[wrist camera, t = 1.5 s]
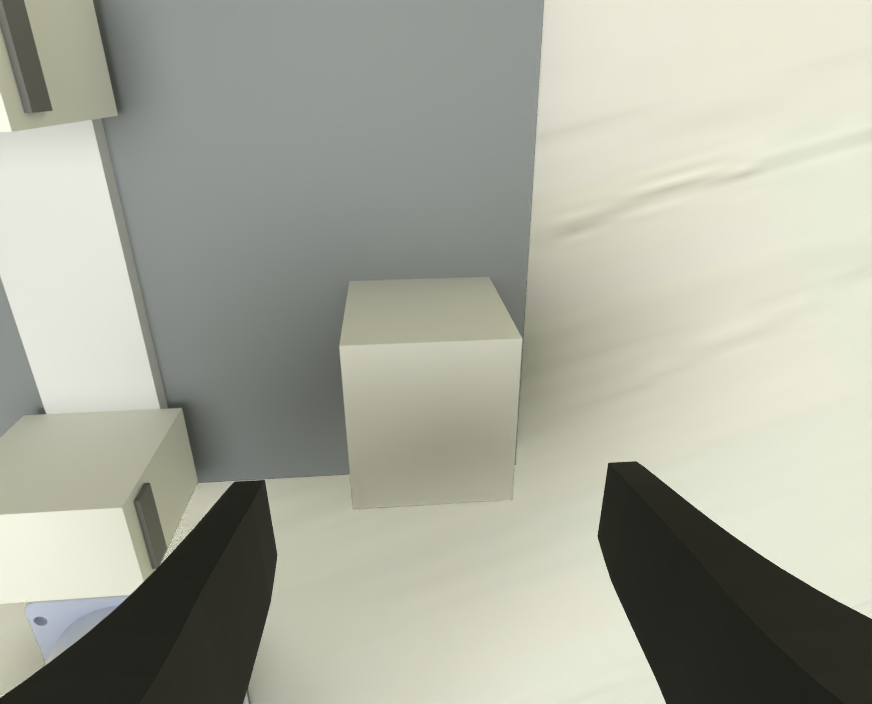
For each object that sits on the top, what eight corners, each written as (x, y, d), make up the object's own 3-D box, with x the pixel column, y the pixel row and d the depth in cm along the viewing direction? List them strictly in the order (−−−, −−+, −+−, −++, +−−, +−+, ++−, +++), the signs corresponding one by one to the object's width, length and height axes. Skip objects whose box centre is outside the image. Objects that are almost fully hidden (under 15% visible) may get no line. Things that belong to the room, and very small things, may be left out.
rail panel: (509, 447, 23) (554, 578, 17) (-20, 475, 22) (-174, 629, 16) (535, -26, 17) (624, -86, 11) (-227, -31, 15) (-637, -102, 9)
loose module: (485, 409, 21) (512, 499, 17) (359, 416, 21) (352, 509, 16) (489, 276, 19) (522, 338, 15) (349, 281, 19) (339, 345, 14)
